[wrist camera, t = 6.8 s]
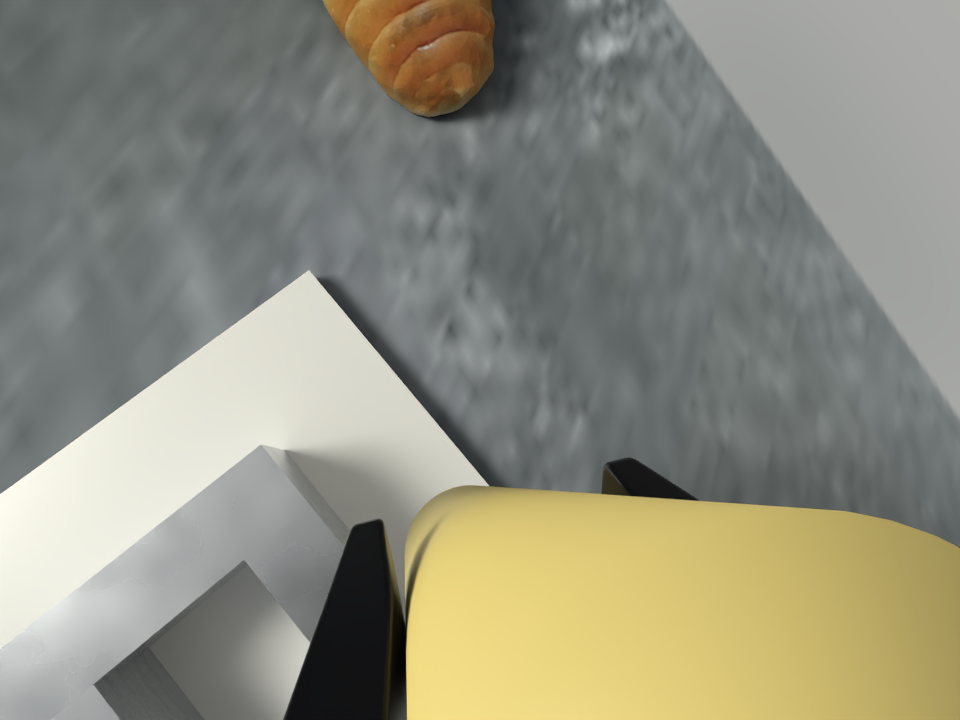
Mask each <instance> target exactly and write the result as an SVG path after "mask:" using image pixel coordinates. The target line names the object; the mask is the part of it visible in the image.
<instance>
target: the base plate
mask: <svg viewBox="0 0 960 720" xmlns="http://www.w3.org/2000/svg"><path fill="white" fill-rule="evenodd" d="M259 445H266V446H270V447H274V448H279V449H283V450H285V451H286V453H287V454H288V455H289V456H290V457H291V459H292V460H293V461H294V462H295V464H296V465H297V466H298V467H299V469H300V470H301V471H302V472H303V474H304V475H305V476H306V477H307V478H308V480H309V481H310V482H311V483H312V485H313V486H314V487H315V488H316V490H317V491H318V492H319V493H320V494H321V496H322V497H323V498H324V499H325V501H326V502H327V503H328V504H329V506H330V507H331V508H332V509H333V510H334V512H335V513H336V514H337V515H338V517H339V518H340V519H341V520H342V522H343V523H344V524H345V525H346V526H347V528H348V529H349V530H351V528H352V527H353V526H354V525H355V524H357V523H361V522H365V521H369V520H373V519H381V520H383V522H384V525H385V528H386V532H387V536H388V541H389V545H390V549H391V553H392V557H393V561H394V566H395V571H396V577H397V582H398V588H399V592H400V593H401V594H402V595H403V597H404V598H405V544H406V539H407V535H408V532H409V529H410V526H411V524H412V522H413V520H414V518H415V517H416V515H417V514H418V512H419V511H420V510H421V509H422V508H423V506H424V505H425V504H426V503H427V502H429V501H430V500H431V499H432V498H434V497H435V496H436V495H438V494H440V493H442V492H444V491H446V490H448V489H451V488H454V487H459V486H465V485H478V486H489V485H488V484H487V483H486V482H485V480H484V479H483V478H482V477H481V476H480V474H479V473H478V472H477V471H476V470H475V468H474V467H473V466H472V465H471V464H470V462H469V461H468V460H467V459H466V458H465V456H464V455H463V454H462V453H461V452H460V450H459V449H458V448H457V447H456V446H455V444H454V443H453V442H452V441H451V440H450V438H449V437H448V436H447V435H446V434H445V432H444V431H443V430H442V429H441V428H440V426H439V425H438V424H437V423H436V422H435V420H434V419H433V418H432V417H431V416H430V414H429V413H428V412H427V411H426V410H425V409H424V407H423V406H422V405H421V404H420V403H419V401H418V400H417V399H416V398H415V397H414V395H413V394H412V393H411V392H410V391H409V389H408V388H407V387H406V386H405V385H404V383H403V382H402V381H401V380H400V379H399V377H398V376H397V375H396V374H395V373H394V371H393V370H392V369H391V368H390V367H389V365H388V364H387V363H386V362H385V361H384V359H383V358H382V357H381V356H380V355H379V353H378V352H377V351H376V350H375V349H374V347H373V346H372V345H371V344H370V343H369V341H368V340H367V339H366V338H365V337H364V335H363V334H362V333H361V332H360V331H359V329H358V328H357V327H356V326H355V325H354V323H353V322H352V321H351V320H350V319H349V318H348V316H347V315H346V314H345V313H344V312H343V310H342V309H341V308H340V307H339V306H338V304H337V303H336V302H335V301H334V300H333V298H332V297H331V296H330V295H329V294H328V292H327V291H326V290H325V289H324V288H323V286H322V285H321V284H320V283H319V282H318V280H317V279H316V278H315V277H314V276H313V274H312V273H311V272H310V271H307V272H306V273H305V274H303V275H302V276H300V277H299V278H298V279H296V280H295V281H294V282H292V283H291V284H289V285H288V286H287V287H285V288H284V289H283V290H281V291H280V292H278V293H277V294H276V295H274V296H273V297H272V298H270V299H269V300H267V301H266V302H265V303H263V304H262V305H261V306H259V307H258V308H256V309H255V310H254V311H252V312H251V313H250V314H248V315H247V316H245V317H244V318H243V319H241V320H240V321H238V322H237V323H236V324H234V325H233V326H232V327H230V328H229V329H227V330H226V331H225V332H223V333H222V334H221V335H219V336H218V337H216V338H215V339H214V340H212V341H211V342H210V343H208V344H207V345H205V346H204V347H203V348H201V349H200V350H199V351H197V352H196V353H194V354H193V355H192V356H190V357H189V358H188V359H186V360H185V361H183V362H182V363H181V364H179V365H178V366H176V367H175V368H174V369H172V370H171V371H170V372H168V373H167V374H165V375H164V376H163V377H161V378H160V379H159V380H157V381H156V382H154V383H153V384H152V385H150V386H149V387H148V388H146V389H145V390H143V391H142V392H141V393H139V394H138V395H137V396H135V397H134V398H132V399H131V400H130V401H128V402H127V403H126V404H124V405H123V406H121V407H120V408H119V409H117V410H116V411H115V412H113V413H112V414H110V415H109V416H108V417H106V418H105V419H103V420H102V421H101V422H99V423H98V424H97V425H95V426H94V427H92V428H91V429H90V430H88V431H87V432H86V433H84V434H83V435H81V436H80V437H79V438H77V439H76V440H75V441H73V442H72V443H70V444H69V445H68V446H66V447H65V448H64V449H62V450H61V451H59V452H58V453H57V454H55V455H54V456H53V457H51V458H50V459H48V460H47V461H46V462H44V463H43V464H42V465H40V466H39V467H37V468H36V469H35V470H33V471H32V472H30V473H29V474H28V475H26V476H25V477H24V478H22V479H21V480H19V481H18V482H17V483H15V484H14V485H13V486H11V487H10V488H8V489H7V490H6V491H4V492H3V493H2V494H0V649H1V648H2V647H3V646H4V645H6V644H7V643H8V642H10V641H11V640H12V639H13V638H15V637H16V636H17V635H18V634H20V633H21V632H22V631H24V630H25V629H26V628H27V627H29V626H30V625H31V624H33V623H34V622H35V621H36V620H38V619H39V618H40V617H41V616H43V615H44V614H45V613H47V612H48V611H49V610H50V609H52V608H53V607H54V606H55V605H57V604H58V603H59V602H61V601H62V600H63V599H64V598H66V597H67V596H68V595H70V594H71V593H72V592H73V591H75V590H76V589H77V588H78V587H80V586H81V585H82V584H84V583H85V582H86V581H87V580H89V579H90V578H91V577H92V576H94V575H95V574H96V573H98V572H99V571H100V570H101V569H103V568H104V567H105V566H106V565H108V564H109V563H110V562H112V561H113V560H114V559H115V558H117V557H118V556H119V555H121V554H122V553H123V552H124V551H126V550H127V549H128V548H129V547H131V546H132V545H133V544H135V543H136V542H137V541H138V540H140V539H141V538H142V537H143V536H145V535H146V534H147V533H149V532H150V531H151V530H152V529H154V528H155V527H156V526H157V525H159V524H160V523H161V522H163V521H164V520H165V519H166V518H168V517H169V516H170V515H172V514H173V513H174V512H175V511H177V510H178V509H179V508H180V507H182V506H183V505H184V504H186V503H187V502H188V501H189V500H191V499H192V498H193V497H194V496H196V495H197V494H198V493H200V492H201V491H202V490H203V489H205V488H206V487H207V486H208V485H210V484H211V483H212V482H214V481H215V480H216V479H217V478H219V477H220V476H221V475H223V474H224V473H225V472H226V471H228V470H229V469H230V468H231V467H233V466H234V465H235V464H237V463H238V462H239V461H240V460H242V459H243V458H244V457H245V456H247V455H248V454H249V453H251V452H252V451H253V450H254V449H256V448H257V447H258V446H259ZM309 645H310V642H309V641H308V640H307V638H306V637H305V636H304V635H303V633H302V632H301V631H300V630H299V628H298V627H297V626H296V625H295V623H294V622H293V621H292V619H291V618H290V617H289V616H288V614H287V613H286V612H285V611H284V609H283V608H282V607H281V606H280V604H279V603H278V602H277V601H276V599H275V598H274V597H273V596H272V594H271V593H270V592H269V591H268V589H267V588H266V587H265V586H264V584H263V583H262V582H261V580H260V579H259V578H258V577H257V575H256V574H255V573H254V572H253V570H252V569H251V568H250V567H249V565H247V566H246V567H245V568H244V569H242V570H241V571H240V572H239V573H238V574H236V575H235V576H234V577H233V578H232V579H230V580H229V581H228V582H227V583H225V584H224V585H223V586H222V587H221V588H219V589H218V590H217V591H216V592H215V593H213V594H212V595H211V596H210V597H209V598H207V599H206V600H205V601H204V602H203V603H201V604H200V605H199V606H198V607H197V608H195V609H194V610H193V611H192V612H191V613H189V614H188V615H187V616H186V617H185V618H183V619H182V620H181V621H180V622H179V623H177V624H176V625H175V626H174V627H172V628H171V629H170V630H169V631H168V632H166V633H165V634H164V635H163V636H162V637H160V638H159V639H158V640H157V641H156V642H154V643H153V644H152V645H151V646H150V647H149V648H150V650H151V651H152V652H153V654H154V655H155V656H156V658H157V659H158V660H159V661H160V663H161V664H162V665H163V667H164V668H165V669H166V670H167V672H168V673H169V674H170V676H171V677H172V678H173V680H174V681H175V682H176V683H177V685H178V686H179V687H180V689H181V690H182V691H183V692H184V694H185V695H186V696H187V698H188V699H189V700H190V702H191V703H192V704H193V705H194V707H195V708H196V709H197V711H198V712H199V713H200V714H201V716H202V717H203V718H204V720H283V718H284V715H285V712H286V710H287V707H288V704H289V701H290V698H291V696H292V693H293V690H294V687H295V684H296V682H297V679H298V676H299V673H300V670H301V667H302V665H303V662H304V659H305V656H306V653H307V651H308V648H309Z"/></svg>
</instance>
